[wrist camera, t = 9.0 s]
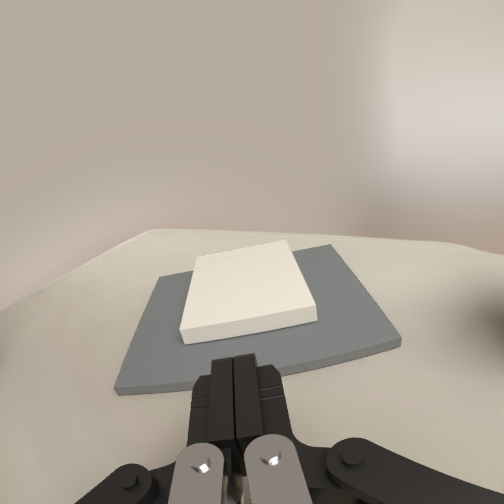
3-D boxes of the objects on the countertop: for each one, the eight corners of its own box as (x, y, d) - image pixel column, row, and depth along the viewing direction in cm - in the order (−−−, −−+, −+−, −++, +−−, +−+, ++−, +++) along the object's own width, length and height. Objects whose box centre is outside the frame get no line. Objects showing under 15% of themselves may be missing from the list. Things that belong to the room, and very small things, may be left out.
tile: (179, 329, 22) (197, 256, 35) (185, 346, 23) (200, 269, 36) (316, 304, 22) (285, 239, 35) (317, 322, 23) (287, 252, 36)
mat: (118, 395, 20) (113, 387, 19) (161, 283, 36) (159, 277, 36) (400, 346, 19) (401, 337, 19) (331, 250, 36) (330, 244, 36)
